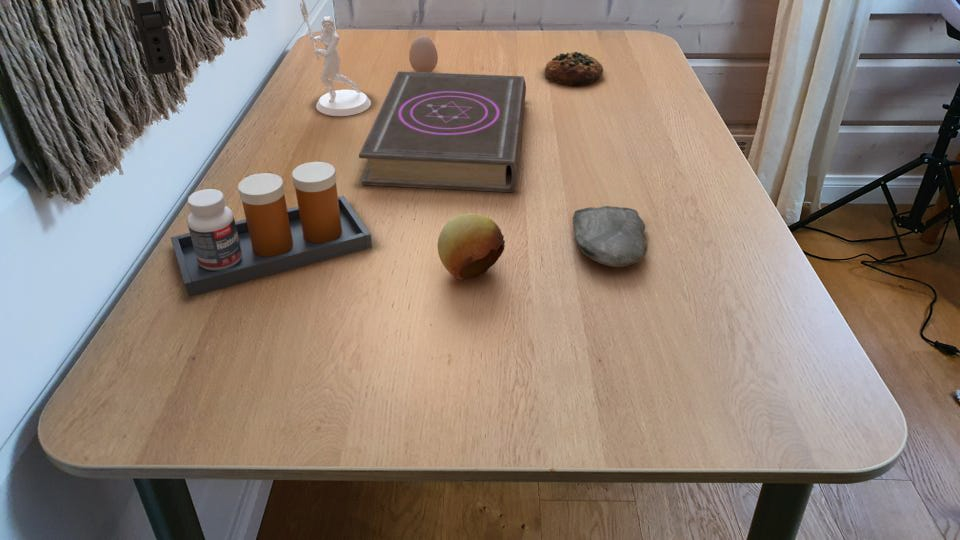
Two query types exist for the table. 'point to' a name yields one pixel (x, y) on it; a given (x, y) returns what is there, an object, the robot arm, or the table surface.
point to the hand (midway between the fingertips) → (156, 55)
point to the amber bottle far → (317, 201)
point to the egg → (423, 54)
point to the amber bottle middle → (266, 214)
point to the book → (447, 132)
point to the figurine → (334, 74)
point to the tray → (260, 266)
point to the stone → (610, 235)
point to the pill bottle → (213, 231)
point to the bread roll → (574, 69)
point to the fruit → (470, 245)
